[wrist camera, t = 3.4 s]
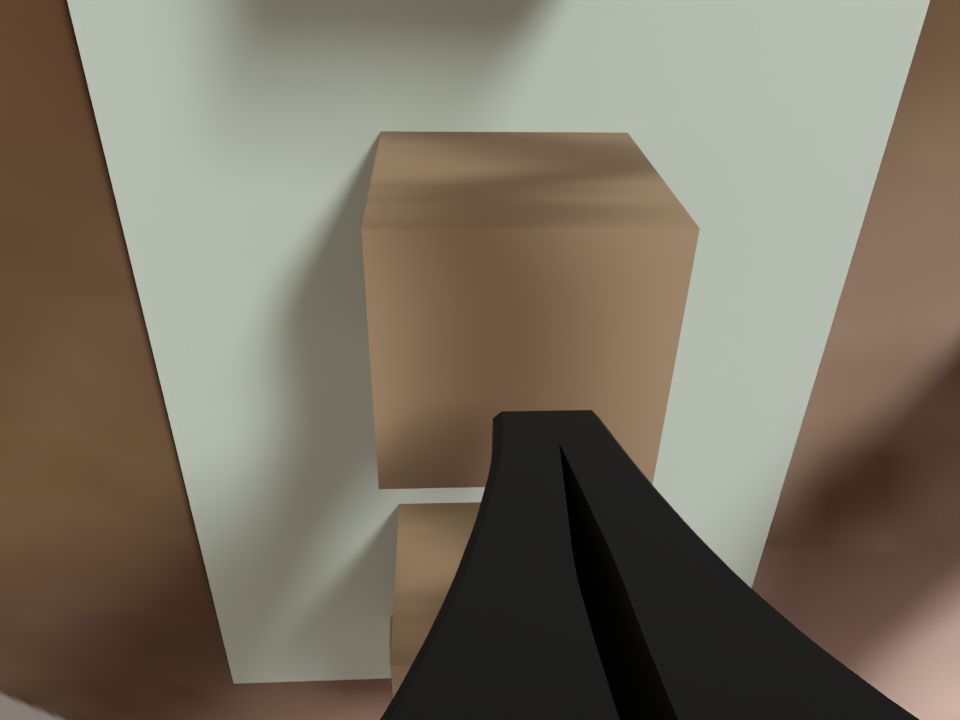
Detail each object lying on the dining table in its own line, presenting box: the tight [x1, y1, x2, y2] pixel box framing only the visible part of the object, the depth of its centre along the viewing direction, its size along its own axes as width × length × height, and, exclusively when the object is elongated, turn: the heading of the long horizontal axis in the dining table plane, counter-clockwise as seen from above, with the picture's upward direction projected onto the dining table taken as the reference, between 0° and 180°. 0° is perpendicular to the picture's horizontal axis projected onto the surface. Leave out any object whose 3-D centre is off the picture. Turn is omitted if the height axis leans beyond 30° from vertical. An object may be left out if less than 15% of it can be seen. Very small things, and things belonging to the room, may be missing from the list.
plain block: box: [361, 131, 700, 489], centre depth 15 cm, size 5×5×5 cm
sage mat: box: [67, 0, 930, 684], centre depth 17 cm, size 16×30×1 cm, turn 179°
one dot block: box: [390, 502, 481, 698], centre depth 20 cm, size 5×5×5 cm
